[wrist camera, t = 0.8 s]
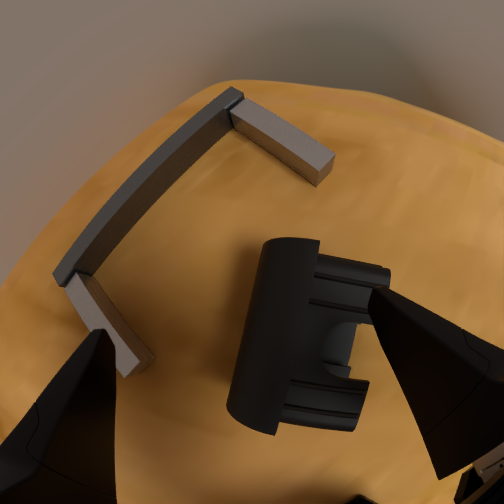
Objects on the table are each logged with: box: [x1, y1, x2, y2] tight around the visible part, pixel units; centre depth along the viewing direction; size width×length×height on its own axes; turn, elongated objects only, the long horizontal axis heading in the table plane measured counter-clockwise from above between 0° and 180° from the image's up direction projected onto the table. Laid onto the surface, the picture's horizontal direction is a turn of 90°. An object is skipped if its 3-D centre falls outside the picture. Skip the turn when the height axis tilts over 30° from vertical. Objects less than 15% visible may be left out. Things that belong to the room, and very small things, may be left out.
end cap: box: [226, 237, 391, 436], centre depth 15 cm, size 10×7×7 cm
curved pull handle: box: [52, 87, 336, 378], centre depth 20 cm, size 11×22×3 cm, turn 137°
